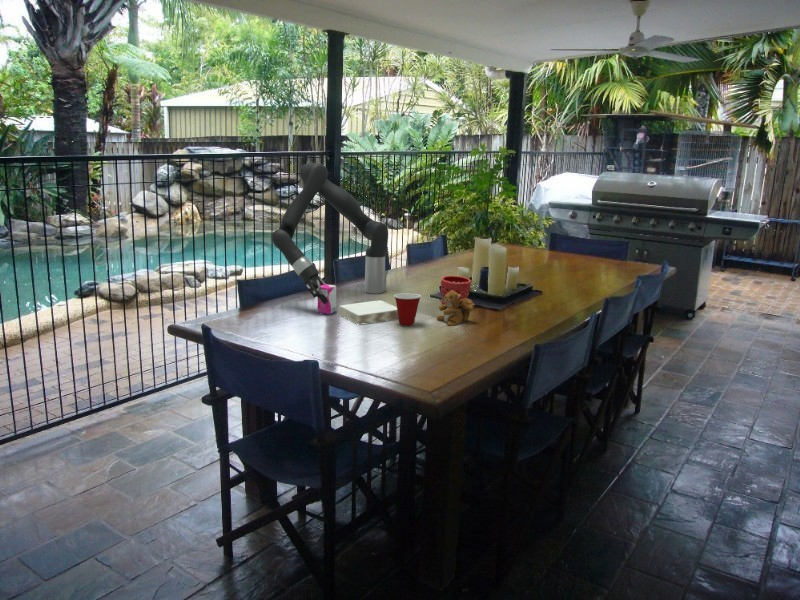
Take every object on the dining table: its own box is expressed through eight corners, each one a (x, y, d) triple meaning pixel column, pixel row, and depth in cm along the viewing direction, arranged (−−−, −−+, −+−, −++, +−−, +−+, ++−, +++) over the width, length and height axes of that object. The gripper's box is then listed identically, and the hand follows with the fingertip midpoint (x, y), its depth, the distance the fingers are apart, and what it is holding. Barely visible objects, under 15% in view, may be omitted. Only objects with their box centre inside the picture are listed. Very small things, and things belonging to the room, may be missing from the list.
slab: (380, 309, 281) (380, 300, 280) (400, 318, 268) (401, 309, 267) (338, 314, 270) (339, 305, 269) (358, 325, 257) (358, 315, 256)
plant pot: (436, 306, 288) (438, 280, 285) (443, 299, 300) (445, 274, 297) (465, 310, 285) (467, 283, 282) (471, 303, 297) (473, 277, 294)
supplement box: (325, 310, 276) (325, 283, 273) (336, 312, 273) (337, 285, 270) (316, 313, 271) (317, 286, 268) (328, 315, 268) (328, 288, 265)
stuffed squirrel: (434, 319, 268) (436, 288, 265) (465, 317, 273) (467, 286, 270) (444, 326, 259) (446, 294, 256) (476, 324, 264) (478, 292, 261)
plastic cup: (413, 319, 268) (415, 290, 265) (424, 326, 258) (425, 297, 255) (388, 321, 264) (389, 292, 261) (398, 328, 254) (399, 298, 251)
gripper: (302, 267, 263) (328, 299, 262) (319, 261, 276) (344, 291, 275) (290, 278, 266) (316, 310, 265) (308, 272, 279) (332, 302, 278)
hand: (330, 300), depth 270 cm, fingers closed on supplement box, 6 cm apart
